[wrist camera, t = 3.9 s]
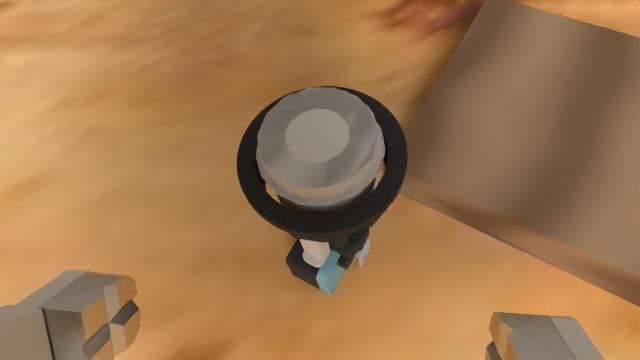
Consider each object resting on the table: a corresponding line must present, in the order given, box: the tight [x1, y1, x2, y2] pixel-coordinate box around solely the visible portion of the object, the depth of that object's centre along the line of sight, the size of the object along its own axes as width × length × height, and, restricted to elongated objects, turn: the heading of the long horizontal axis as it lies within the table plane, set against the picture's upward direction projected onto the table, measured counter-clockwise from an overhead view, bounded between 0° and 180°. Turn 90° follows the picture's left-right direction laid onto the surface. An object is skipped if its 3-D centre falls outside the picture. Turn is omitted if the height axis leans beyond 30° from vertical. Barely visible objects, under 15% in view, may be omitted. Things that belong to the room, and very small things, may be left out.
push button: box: [237, 86, 408, 295], centre depth 17 cm, size 7×5×10 cm
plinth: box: [399, 0, 640, 306], centre depth 21 cm, size 13×13×2 cm
